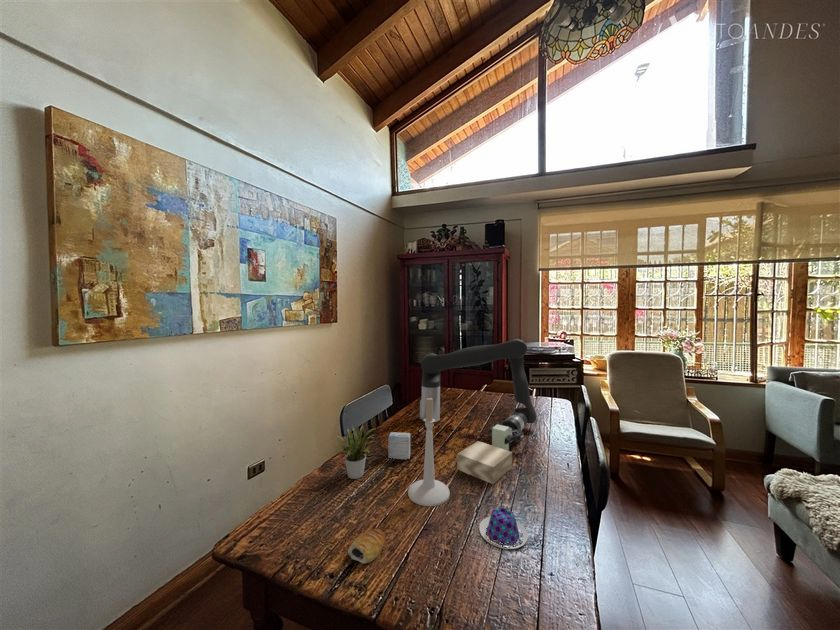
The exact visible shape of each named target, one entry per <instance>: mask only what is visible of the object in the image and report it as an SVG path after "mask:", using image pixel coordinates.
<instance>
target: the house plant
mask: <svg viewBox="0 0 840 630" xmlns="http://www.w3.org/2000/svg"><path fill="white" fill-rule="evenodd" d="M363 425H364V424H363ZM363 425H361V427H360V429H359V432H358V434H357V431H356V429H355V427H354V426H353V425H352V426H351V427H352V431H353V433H352V431H350V429H349V428H348V427H346V430H347V435H348V439H349V440H348V441H346V440H345V439H344V438H343V437H342V436H340V435H337V434H336V435H334V436H336V437H338V438H340V439H341V440H342V441H343V442H344V443H345V444H346V445H347V447H346V446H345V445H343V444H341V443H340V444H339V445H340V446H341V447H342V449H338V450H337V452H340V453H343V454H346V455H345V457H344V461H345V466H346V467H345V468H346V472H347V477H348V478H349V479H351V480H352V479H353V480H354V479H355V480H356V479H360V478H362V477H363V475H364V472H365V467H366V459H367V456H368V454H369V453H370V448H368V446H369V445H371V443H373V442H374V440H372V441H369V442H368V440H369V439H374V438H375V437H374V436H375V435H376V434H371V435H369V434H370V433H371V432H372V431H373V430H376V429H377V428H371V429H370V430H367V432H366V433H365V434H364V435H363V431H364V430H363V429H364V428H363V427H364V426H363ZM353 435H354V436H353ZM368 435H369V436H368ZM362 436H363V437H362ZM367 436H368V437H367ZM367 453H368V454H367Z"/></svg>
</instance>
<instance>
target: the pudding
mask: <svg viewBox="0 0 840 630" xmlns="http://www.w3.org/2000/svg"><path fill="white" fill-rule="evenodd" d="M486 528H487V529H486ZM478 529H479V534H480V535H481V537H483V540H486V542H488V543H489V544H491V545H492V546H494V547H496V548H497V547H498V548H499V549H500V548H501V549H504V550H505V549H506V550H513V549H519V548H520V547H522V546H525V544H526V543H527V540H528V539H529V538H528V537H529V536H528V531H527V530H526V528H525V527H524V526H523V525H522V524H521V523H520V522H519V521H517V519H516V516H515V514H514V512H512V510H509V509H508V508H505V507H497V508H494V509H492V512H491V514H490V516H487V517H485V518H483V519H482V520H481V522H480V523H479V526H478ZM518 529H520V530H521V531H522V532H521V533H523V536H524V539H523V543H522V544H521V545H518V546H516V547H510V548H509V547H508V548H504V547H501V546H497V545H495V544H494V543H492V542H491V541H489V539H487V535H488V536H489V537H491V538H492V539H493V541H494V540H498V541H499V542H501V543H507V542H509V543H514V542H516V543H517V540H516V539H518V540H519V539H520V538H519V536H520V533H519V531H518ZM486 532H487V535H486V534H485V533H486ZM498 541H497V542H498ZM499 542H498V543H499ZM509 543H508V544H509ZM514 544H515V543H514Z"/></svg>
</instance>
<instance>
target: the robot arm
mask: <svg viewBox="0 0 840 630" xmlns="http://www.w3.org/2000/svg"><path fill="white" fill-rule="evenodd" d="M527 353H528V346H527V343H525V341H524V340H522V339H519V338H515V339H511V340H508V341H505V342H501V343H496V344H485V345H484V344H481V345H475V346H468V347H465V348H460V349H458V350H456V351H452V352H450V353H446V354H436V353H435V352H434V353H433V352H429V353H427V354H425V355H423V358H422V359H421V363H420V366H421V367H420V368H421V370H422V374H421V375H422V376H421V377H422V378H421V399H420V400H419V420H422V422H424V419H426V399H427V398H429V397H430V398H432V399H433V419H435V422H434V423H436V422H439V421H440V419H441V417H440V416H441V371H446V370H449V369H450V370H451V369H460V368H467V367H475V366H479V365H484V364H489V363H492V362H495V361H498V360H506V359H507V360H508V361H509V365H510V369H511V370H510V371H511V378H512V379H511V380H512V387H513V394H514V401H515V402H516V403H519V404H522V405H524V407H515V408H514V409H513V411H512V415H509V416H508V417H507V418H506V419H505V420H504V421H502V423H501V424H500V425H502V426H507V427H509V436H507V437H506V438H505V444H508V443H509V444H511V443H512V442H513V443H519V442H520V441H522V440H524V437H525V436H524V431H523V429H525V427H526V426H527V425H528V424H535V423H536V421H537V418H538V416H537V412H536V410H535V407H534V405H533V403H532V400H531V396H530V395H531V394H530V387H529V386H530V385H529V381H528V379H527V374H526V370H525V364H524V356H525V355H526V354H527ZM494 426H495V425H494V424H491V425H490V427H489V428H488V436H489V440H490V441H492V428H493V427H494Z"/></svg>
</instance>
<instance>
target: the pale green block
mask: <svg viewBox="0 0 840 630" xmlns="http://www.w3.org/2000/svg"><path fill="white" fill-rule="evenodd" d="M507 436H509V427H507V426H502V425H501V424H498V423H497V424H495V425H494V427H493V428H492V440H491V445H492V446H495V447H498V448H501V449H504V450H507V451H510V446H509V445H510V443H508V444H505V438H506V437H507Z"/></svg>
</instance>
